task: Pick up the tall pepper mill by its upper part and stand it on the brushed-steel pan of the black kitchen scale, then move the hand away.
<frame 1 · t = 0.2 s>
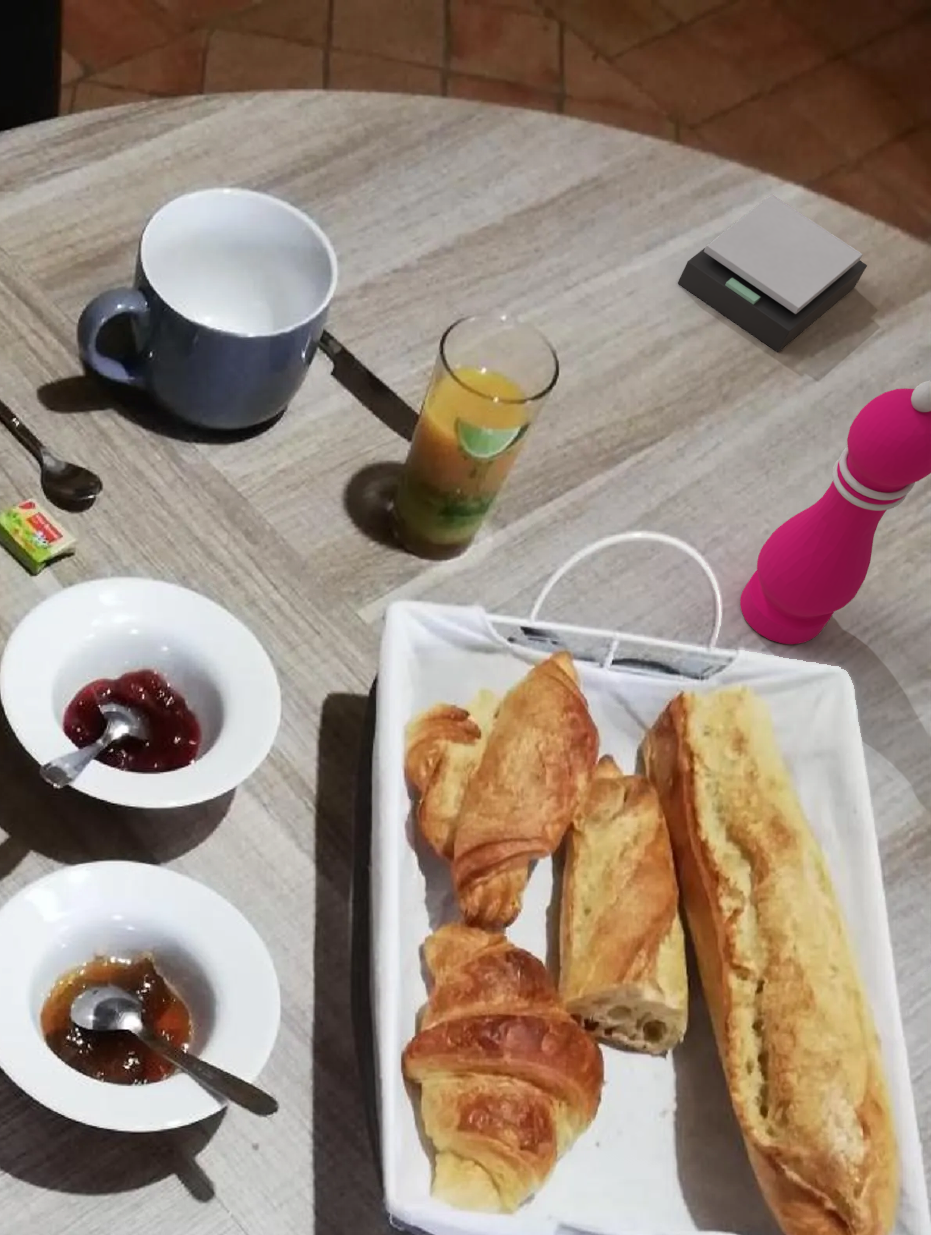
pepper mill: (780, 612, 119), on the table
scale: (766, 285, 132), on the table
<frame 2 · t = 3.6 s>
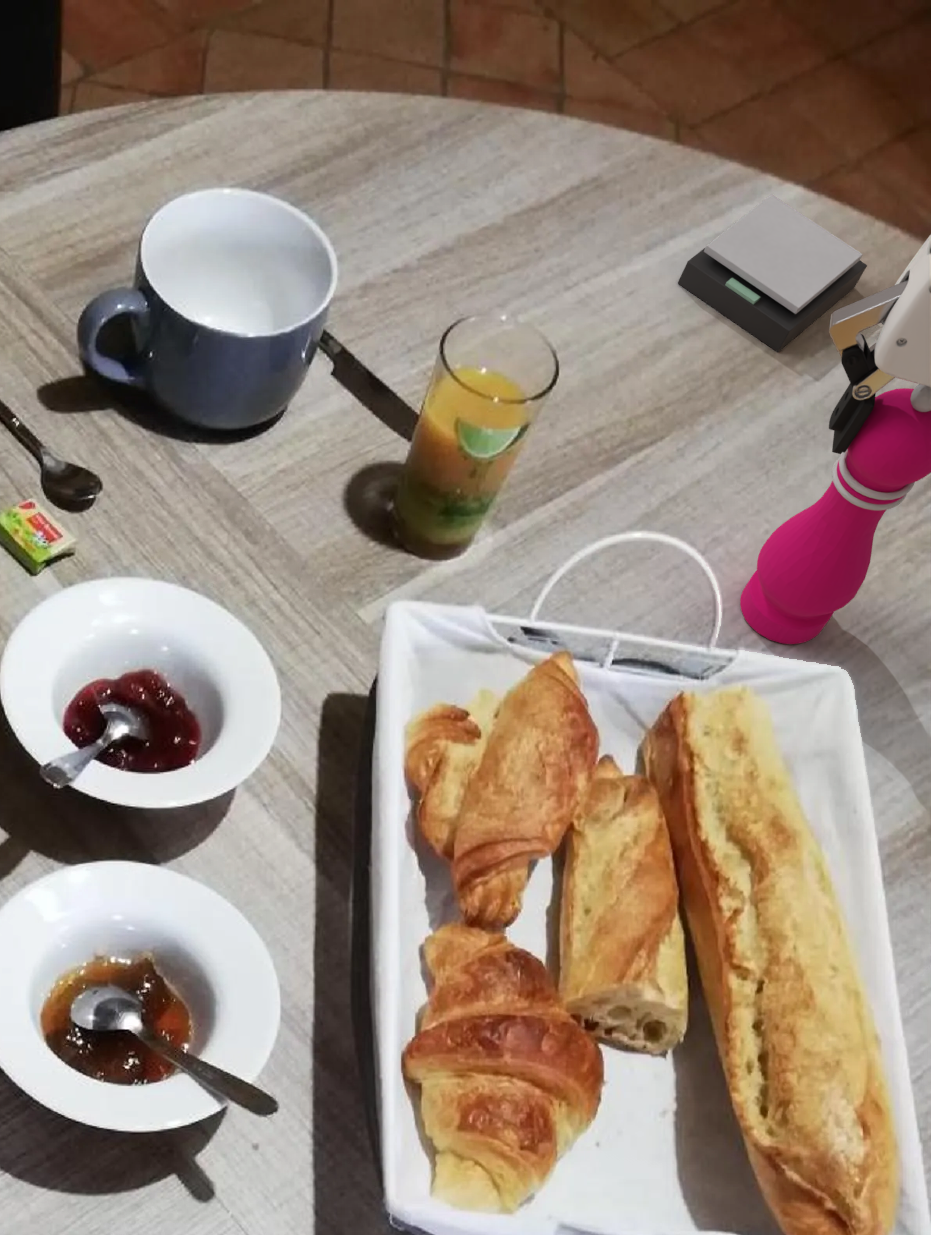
hand: (891, 448, 106), 15 cm above the table, tool pointing down, fingers closed on pepper mill, 6 cm apart
pepper mill: (780, 612, 120), on the table, touching gripper
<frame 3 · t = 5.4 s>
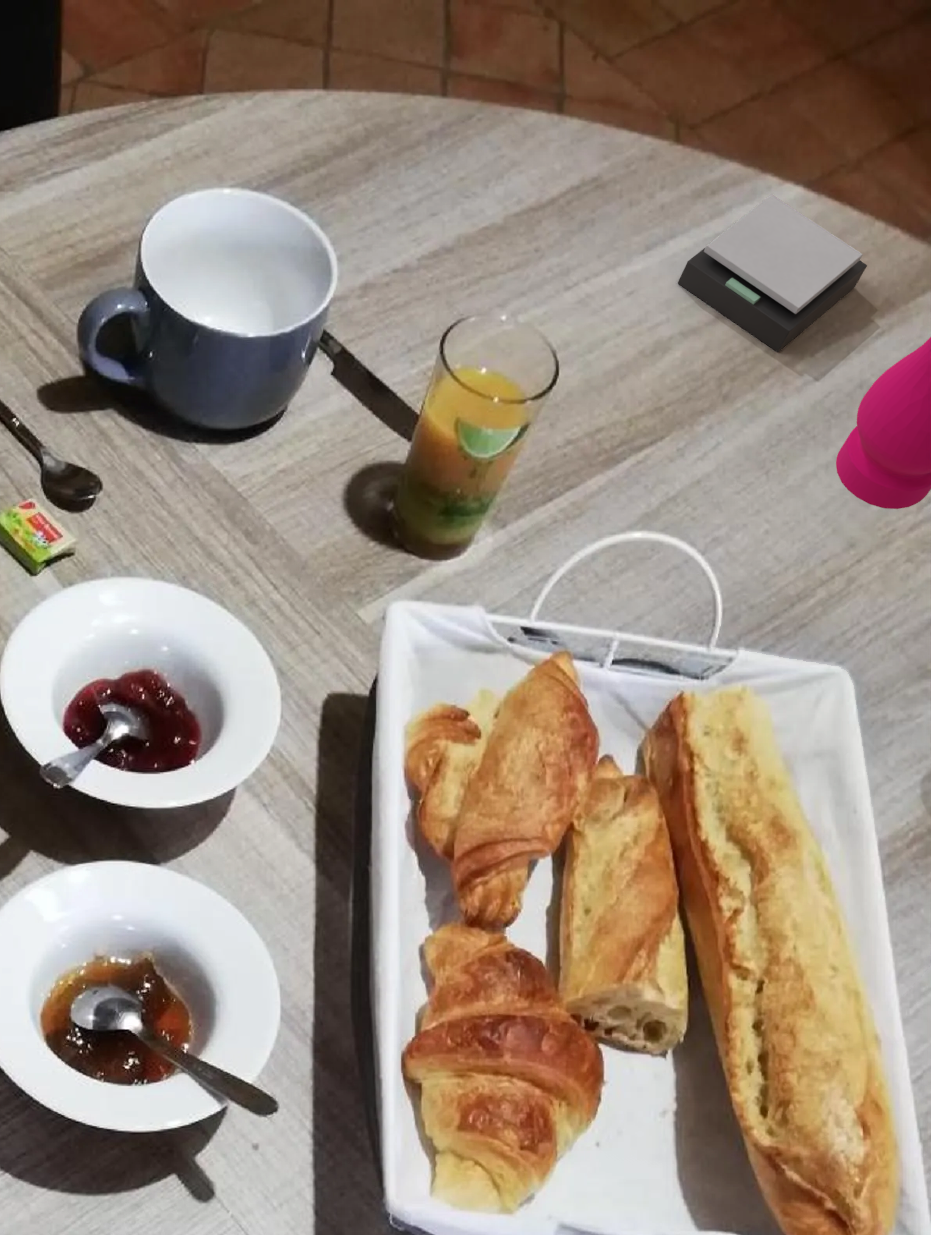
pepper mill: (880, 476, 108), point 13 cm above the table, touching gripper
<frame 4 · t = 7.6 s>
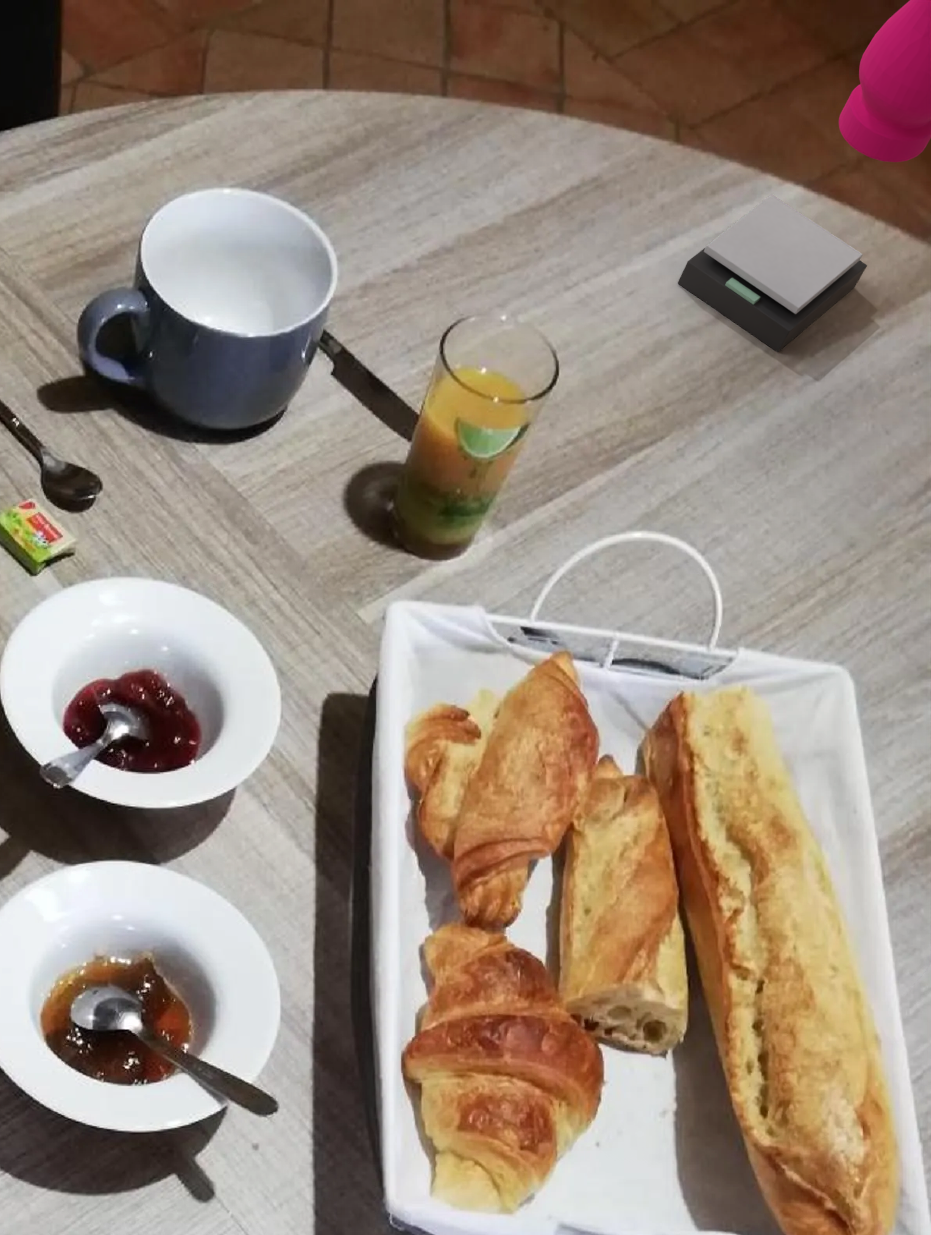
pepper mill: (880, 135, 115), point 17 cm above the table, touching gripper
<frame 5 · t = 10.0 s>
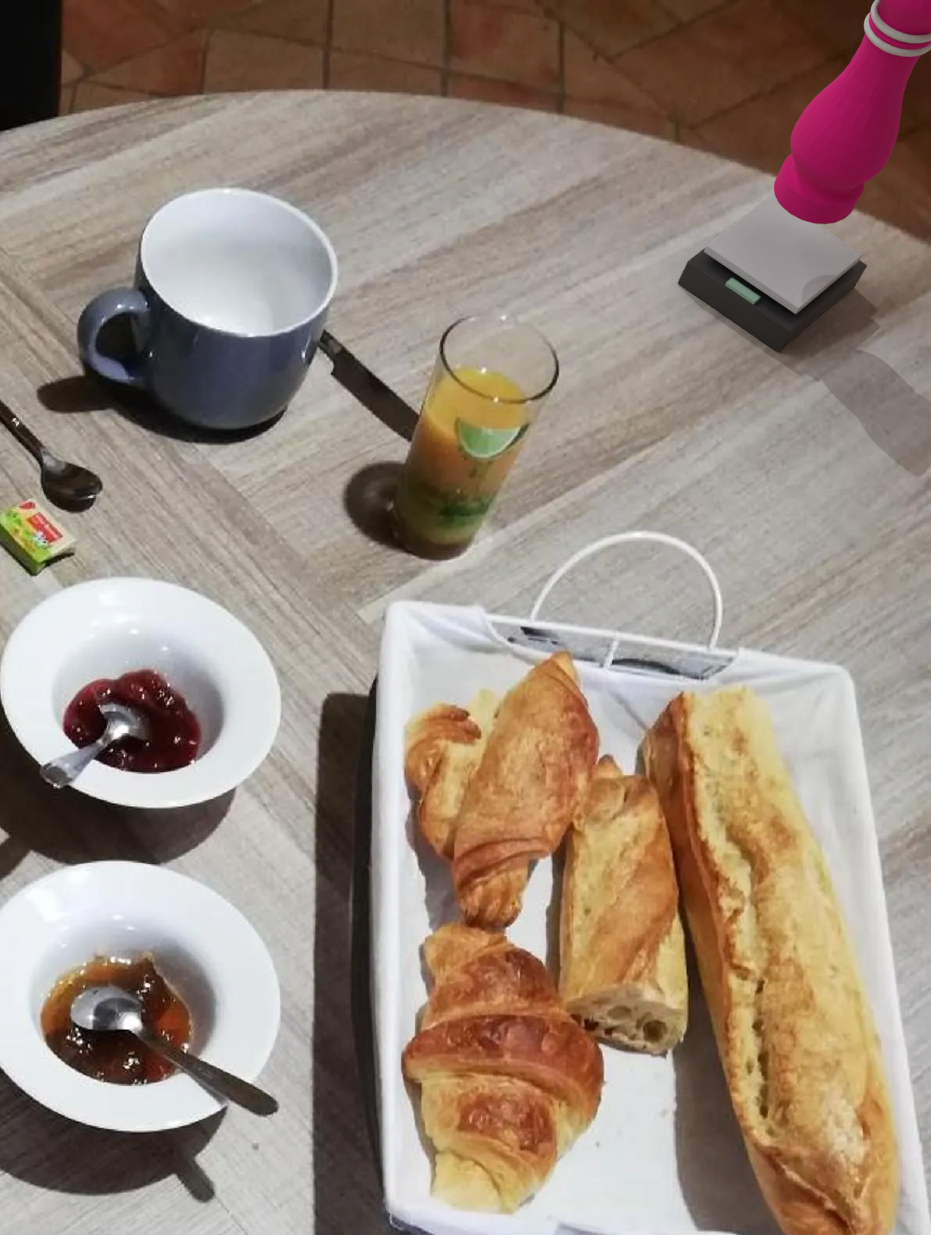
pepper mill: (811, 198, 125), point 7 cm above the table, touching gripper
when the fingers open (18 cm above the table, at t = 11.6 s): pepper mill stays where it is, resting on scale.
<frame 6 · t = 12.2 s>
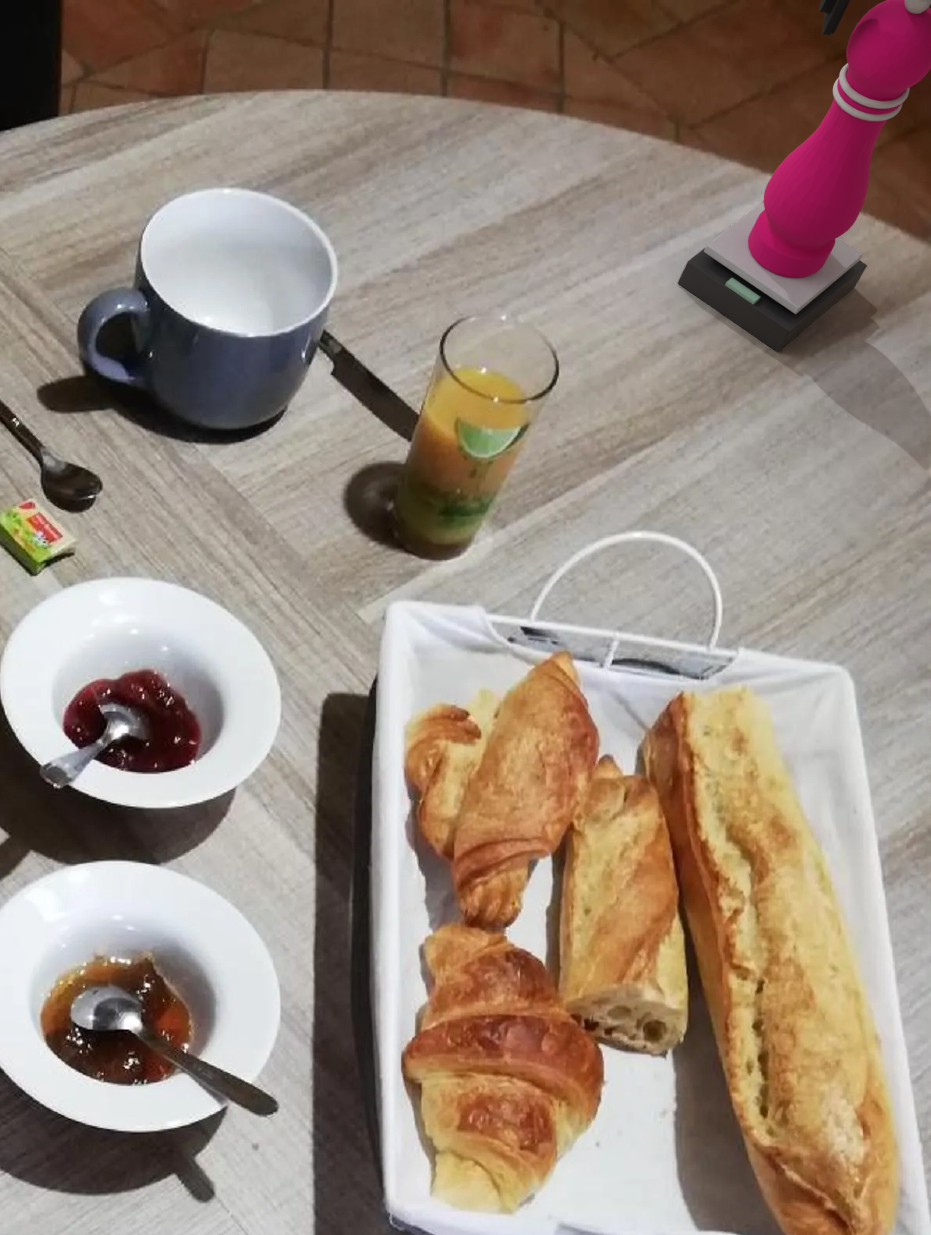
hand: (896, 39, 114), 20 cm above the table, tool pointing down, fingers open, 9 cm apart
pepper mill: (784, 252, 130), point 3 cm above the table, touching scale
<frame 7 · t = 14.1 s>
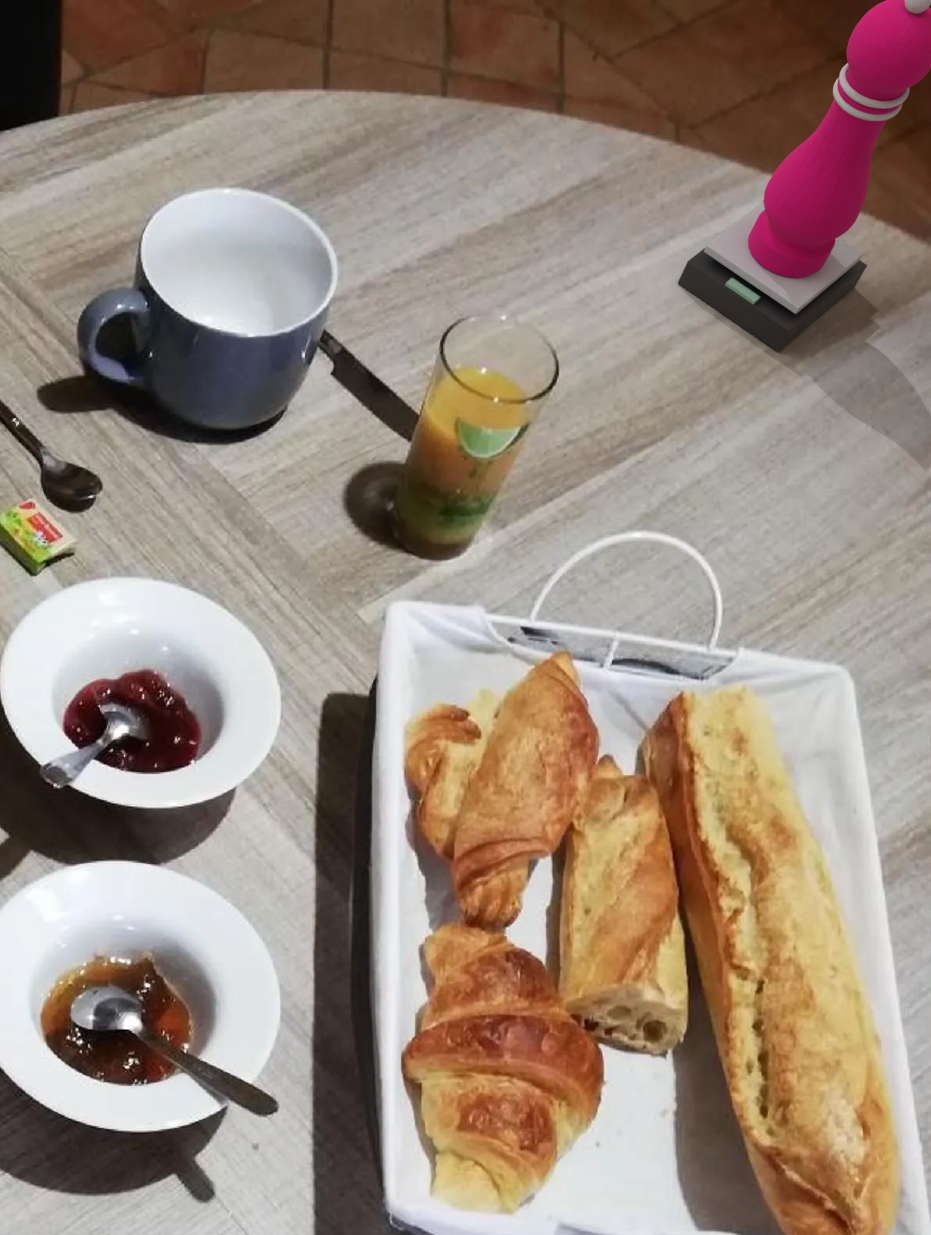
nothing on the table moved.
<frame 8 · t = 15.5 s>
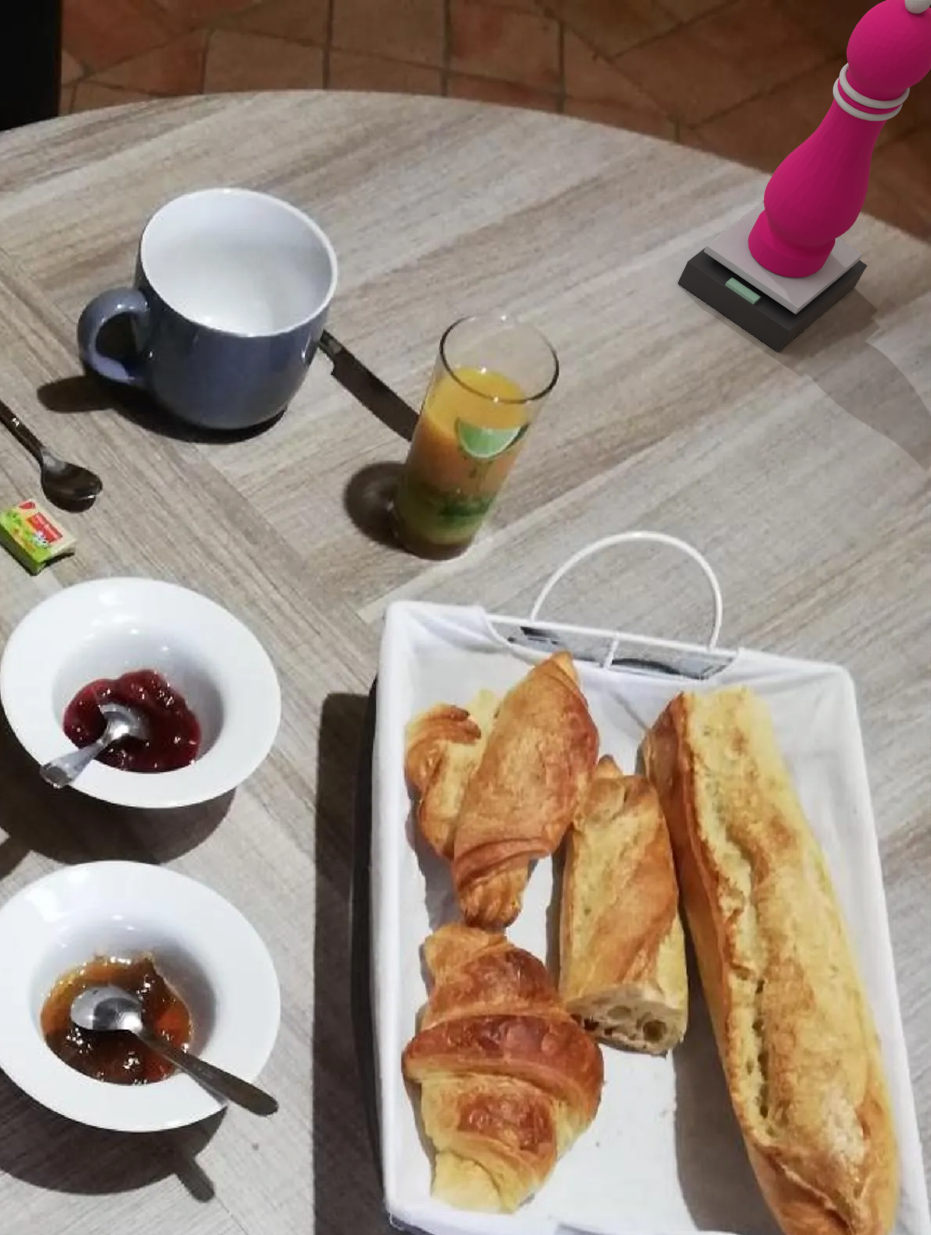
nothing on the table moved.
at the end: pepper mill 0.1 cm off-centre on the scale, point 3.0 cm above the scale's base; pepper mill tilted 0° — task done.
